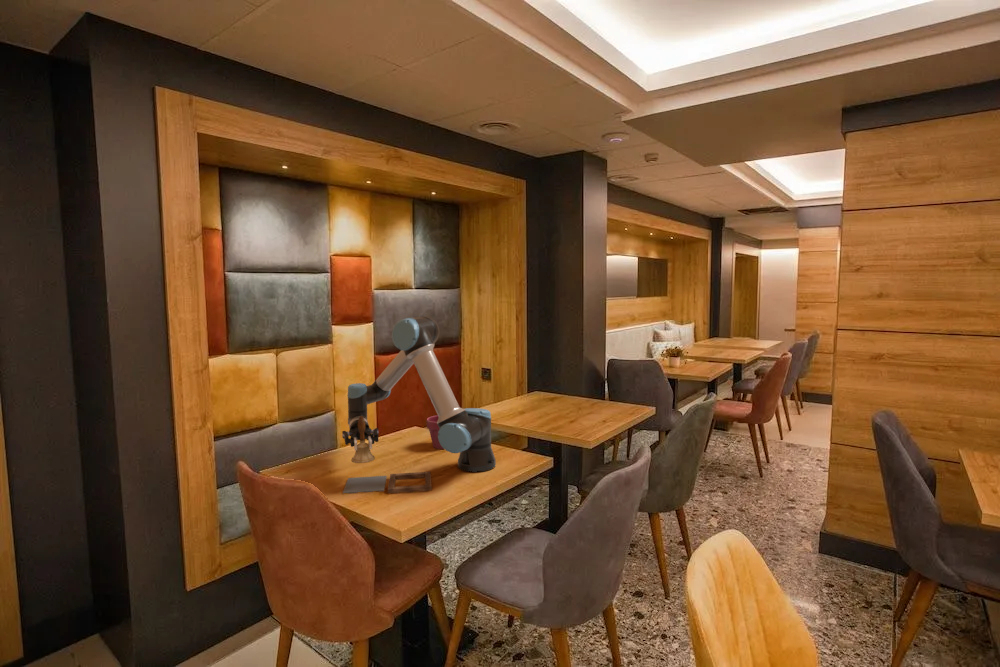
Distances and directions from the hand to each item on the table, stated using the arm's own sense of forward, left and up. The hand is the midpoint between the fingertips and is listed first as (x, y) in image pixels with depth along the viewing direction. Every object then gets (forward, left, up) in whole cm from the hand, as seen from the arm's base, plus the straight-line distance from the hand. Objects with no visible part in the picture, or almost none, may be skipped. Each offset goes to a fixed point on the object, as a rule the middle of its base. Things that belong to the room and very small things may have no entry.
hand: (363, 445), depth 179 cm
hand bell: (+1, -5, -7) cm, 8 cm away
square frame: (-16, -3, -16) cm, 23 cm away
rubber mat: (0, -5, -16) cm, 17 cm away
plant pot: (-30, -46, -16) cm, 57 cm away
